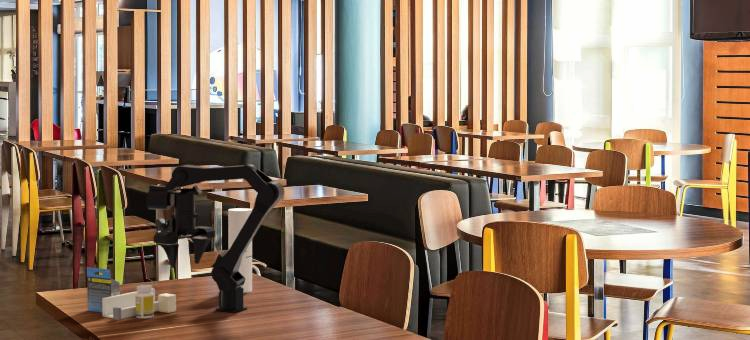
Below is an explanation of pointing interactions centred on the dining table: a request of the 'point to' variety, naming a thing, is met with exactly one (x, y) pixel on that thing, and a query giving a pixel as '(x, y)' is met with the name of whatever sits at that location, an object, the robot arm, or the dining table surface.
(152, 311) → the supplement bottle
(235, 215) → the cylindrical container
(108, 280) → the label tape cartridge
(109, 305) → the white bracket
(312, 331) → the dining table surface
